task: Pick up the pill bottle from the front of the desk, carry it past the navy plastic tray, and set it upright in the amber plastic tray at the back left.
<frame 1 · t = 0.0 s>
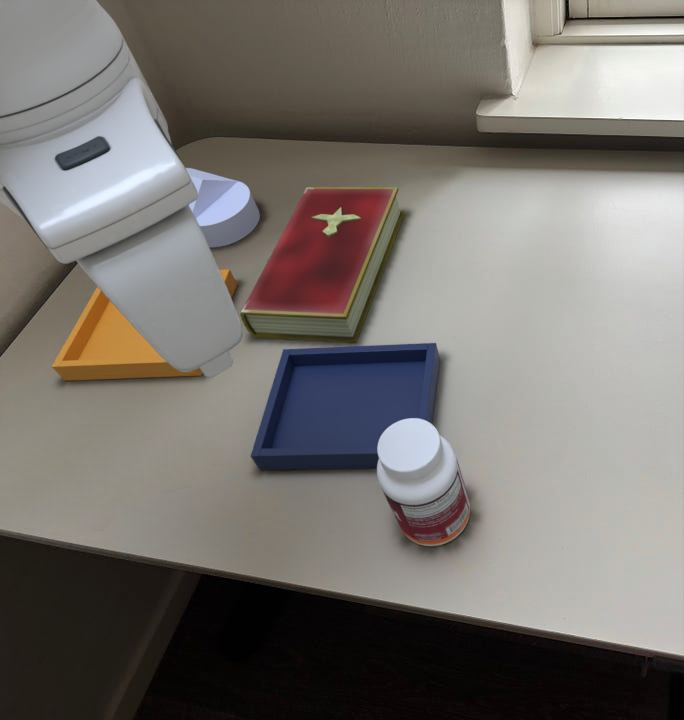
hand: (188, 322, 45), 24 cm above the table, tool pointing down, fingers open, 8 cm apart
hardcover book: (333, 272, 82), on the table
wedge on round base: (214, 221, 92), on the table
amber tray: (154, 330, 80), on the table
pill bottle: (435, 516, 60), on the table
navy tray: (353, 411, 69), on the table
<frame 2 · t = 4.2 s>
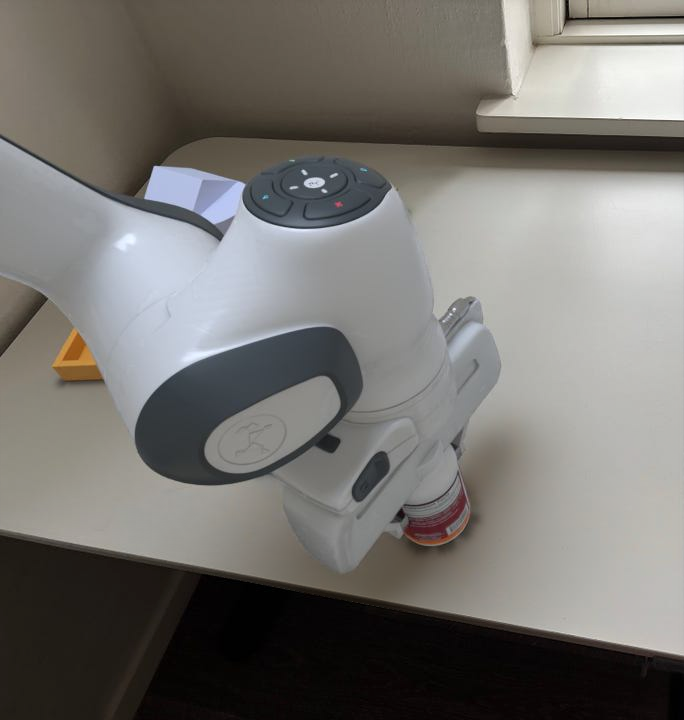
hand: (425, 490, 57), 4 cm above the table, tool pointing down, fingers closed on pill bottle, 6 cm apart
pill bottle: (435, 516, 60), on the table, touching gripper
everything else where it was.
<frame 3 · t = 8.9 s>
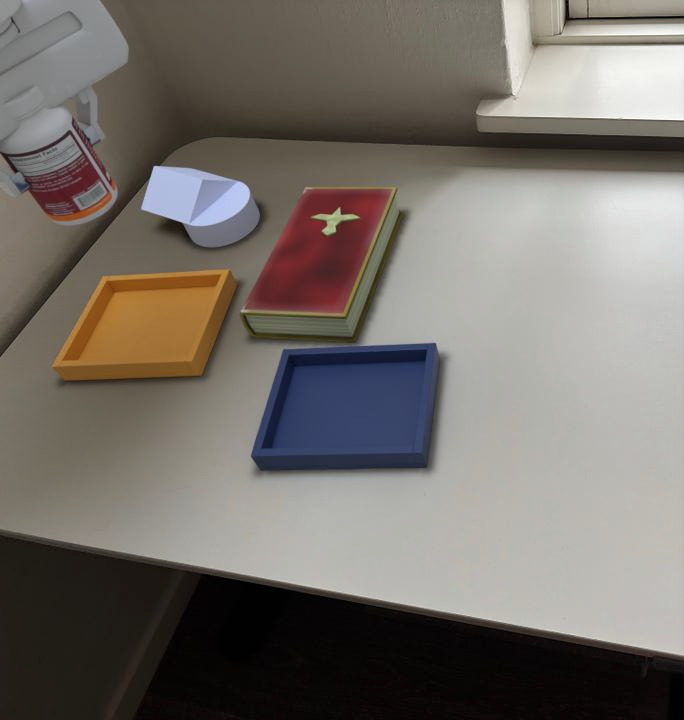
hand: (58, 166, 60), 23 cm above the table, tool pointing down, fingers closed on pill bottle, 6 cm apart
pill bottle: (86, 207, 63), point 19 cm above the table, touching gripper
everything else where it was.
when the fingers open (5 cm above the table, at t = 13.9 s): pill bottle stays where it is, resting on amber tray.
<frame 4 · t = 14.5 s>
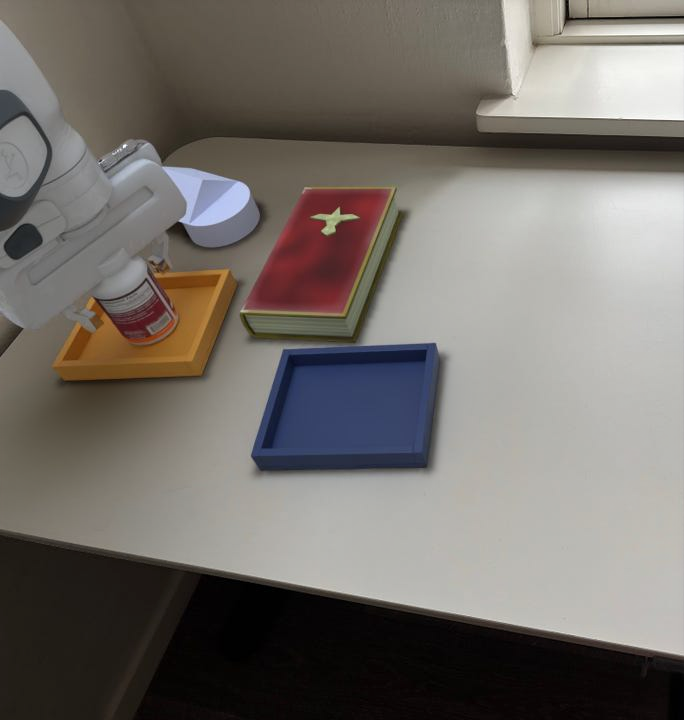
hand: (130, 297, 76), 5 cm above the table, tool pointing down, fingers open, 8 cm apart
pill bottle: (153, 328, 79), resting on amber tray
everything else where it was.
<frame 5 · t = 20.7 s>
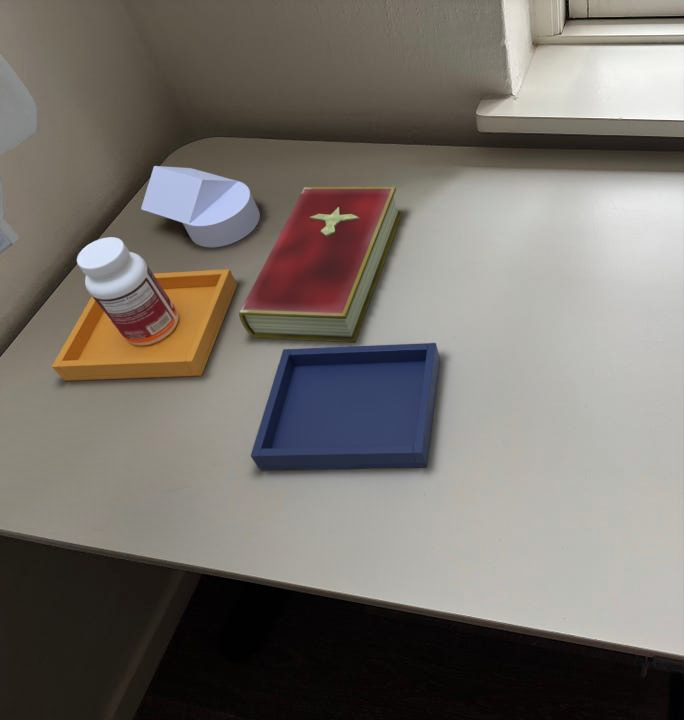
nothing on the table moved.
at the end: pill bottle inside the target area in the amber tray (0.1 cm from its centre), point 0.4 cm above the amber tray's base; pill bottle tilted 0°; the gripper is holding nothing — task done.
